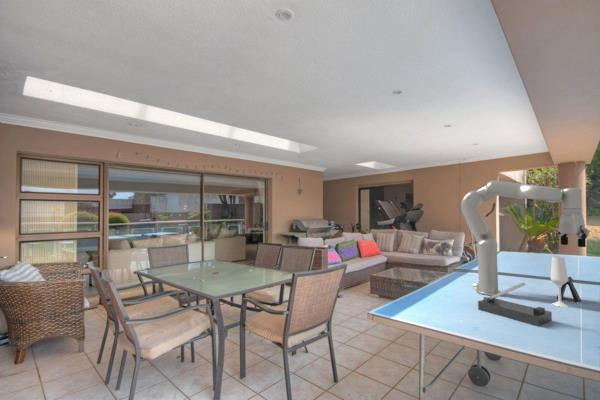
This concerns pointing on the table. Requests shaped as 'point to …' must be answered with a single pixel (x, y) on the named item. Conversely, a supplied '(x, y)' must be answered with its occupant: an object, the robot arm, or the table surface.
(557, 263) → the champagne flute
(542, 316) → the block
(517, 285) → the strap
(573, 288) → the phone stand
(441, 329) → the table surface
